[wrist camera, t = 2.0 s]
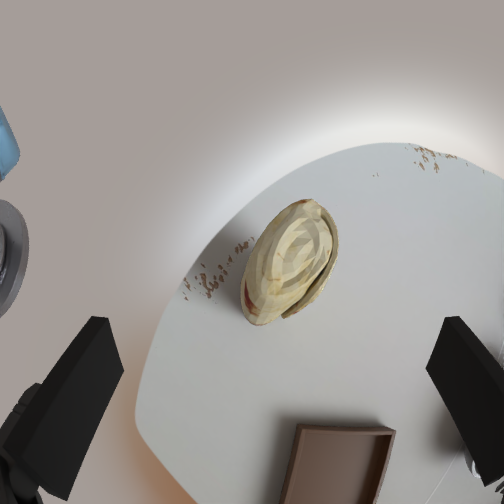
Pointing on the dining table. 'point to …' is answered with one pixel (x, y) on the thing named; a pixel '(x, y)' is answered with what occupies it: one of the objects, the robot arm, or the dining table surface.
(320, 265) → the food model
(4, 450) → the robot arm
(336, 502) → the serving tray
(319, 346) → the dining table surface
